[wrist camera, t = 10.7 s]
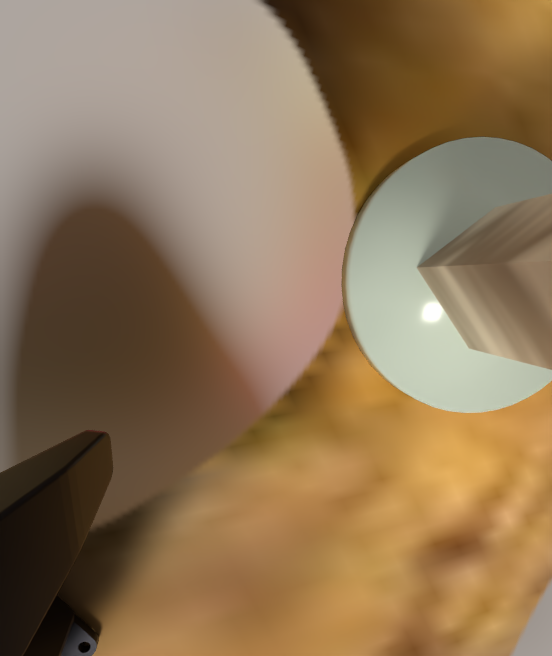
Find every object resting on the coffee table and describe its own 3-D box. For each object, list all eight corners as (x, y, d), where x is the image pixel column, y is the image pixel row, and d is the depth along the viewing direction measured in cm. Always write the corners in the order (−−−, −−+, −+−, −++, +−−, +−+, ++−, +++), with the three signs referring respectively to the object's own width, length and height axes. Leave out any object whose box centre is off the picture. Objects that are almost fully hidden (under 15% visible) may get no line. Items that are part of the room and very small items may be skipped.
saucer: (444, 456, 22) (458, 466, 21) (287, 262, 20) (292, 261, 19) (622, 293, 23) (645, 294, 22) (489, 88, 21) (506, 77, 19)
